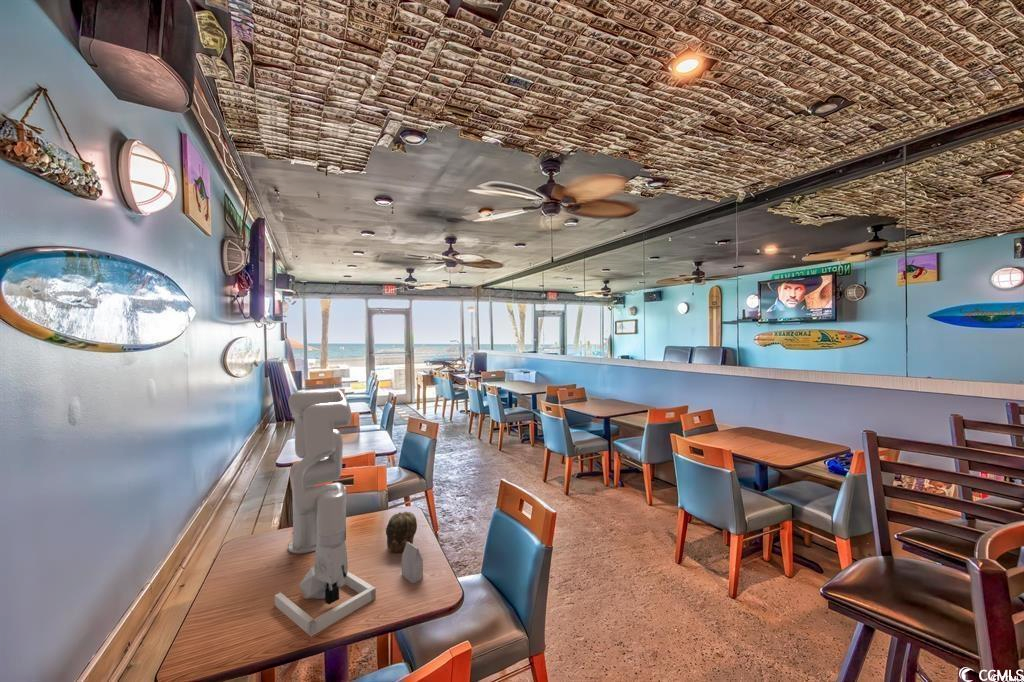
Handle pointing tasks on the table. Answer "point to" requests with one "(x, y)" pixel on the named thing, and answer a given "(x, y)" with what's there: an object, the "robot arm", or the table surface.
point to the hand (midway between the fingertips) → (332, 600)
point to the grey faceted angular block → (412, 563)
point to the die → (313, 585)
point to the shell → (400, 531)
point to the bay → (332, 615)
